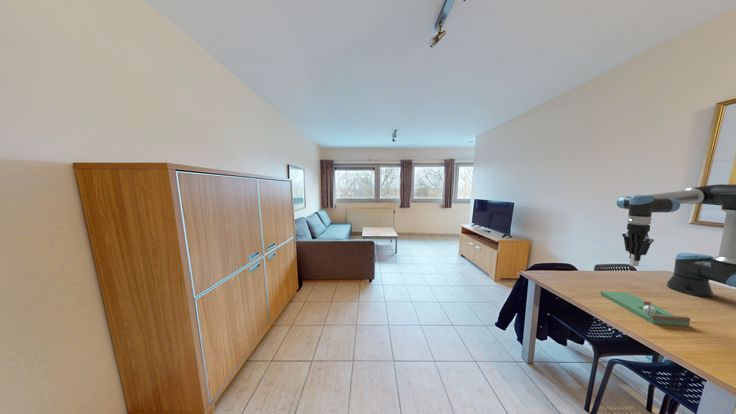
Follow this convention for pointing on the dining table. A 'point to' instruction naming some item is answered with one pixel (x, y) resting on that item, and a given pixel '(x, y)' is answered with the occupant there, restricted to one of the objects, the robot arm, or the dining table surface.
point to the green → (637, 306)
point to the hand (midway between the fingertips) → (634, 265)
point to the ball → (652, 310)
